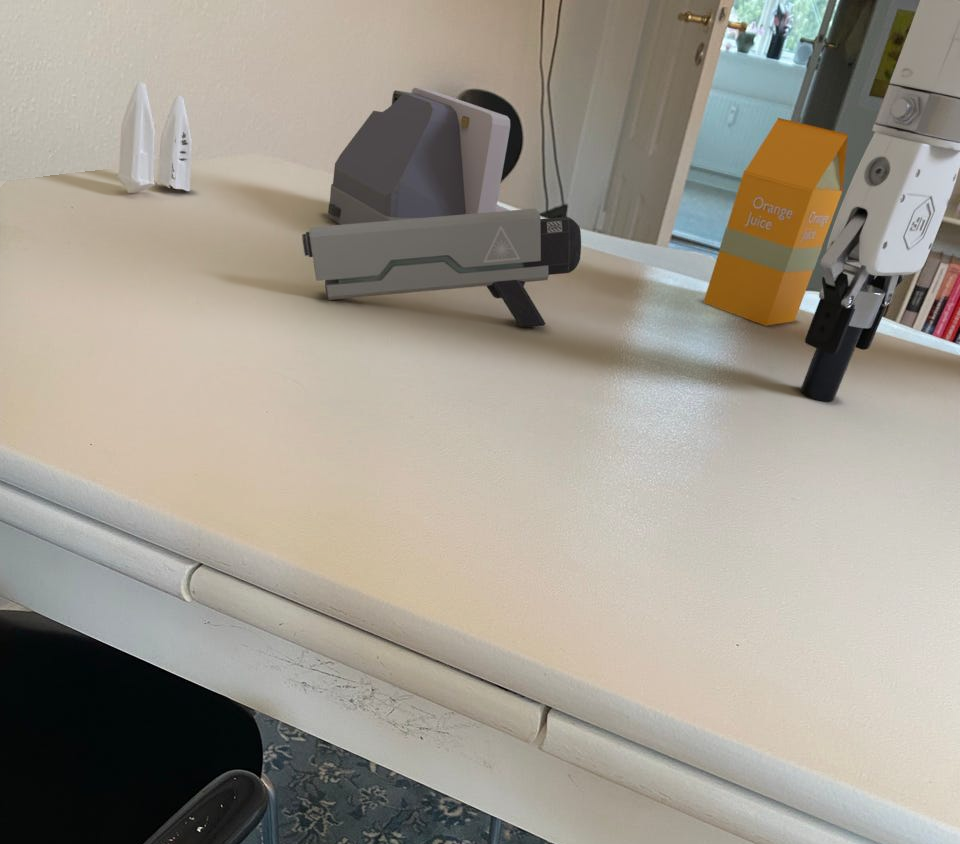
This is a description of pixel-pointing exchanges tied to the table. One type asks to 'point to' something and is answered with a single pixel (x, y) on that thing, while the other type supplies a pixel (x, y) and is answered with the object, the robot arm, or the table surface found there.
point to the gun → (446, 256)
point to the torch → (841, 348)
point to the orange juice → (779, 223)
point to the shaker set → (141, 145)
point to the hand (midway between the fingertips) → (837, 344)
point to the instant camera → (421, 161)
